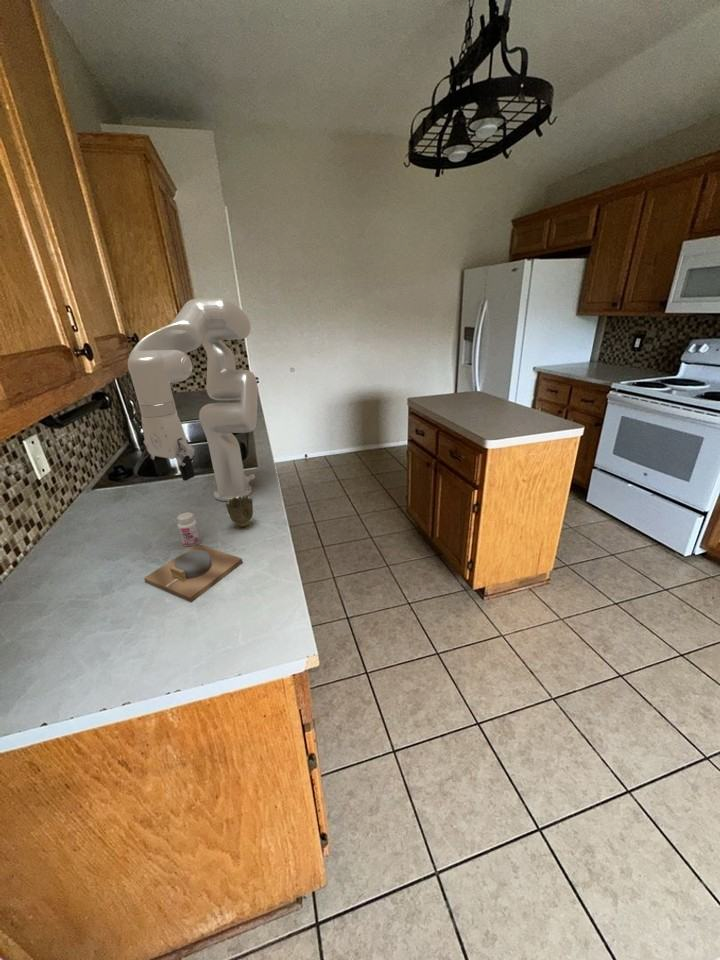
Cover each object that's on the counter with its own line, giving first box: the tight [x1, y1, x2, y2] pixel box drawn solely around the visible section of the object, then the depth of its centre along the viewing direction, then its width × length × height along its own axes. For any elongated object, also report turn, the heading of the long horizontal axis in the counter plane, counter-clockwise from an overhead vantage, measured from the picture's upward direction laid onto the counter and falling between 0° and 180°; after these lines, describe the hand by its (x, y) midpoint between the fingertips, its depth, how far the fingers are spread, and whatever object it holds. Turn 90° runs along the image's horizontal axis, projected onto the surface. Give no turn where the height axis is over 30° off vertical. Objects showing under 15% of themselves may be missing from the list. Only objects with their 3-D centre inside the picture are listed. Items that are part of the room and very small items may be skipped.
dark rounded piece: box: [225, 496, 254, 529], centre depth 115 cm, size 8×7×8 cm
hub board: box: [143, 543, 244, 603], centre depth 96 cm, size 16×16×4 cm
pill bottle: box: [176, 512, 201, 547], centre depth 108 cm, size 5×5×8 cm
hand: (175, 475), depth 100 cm, fingers open, 9 cm apart
